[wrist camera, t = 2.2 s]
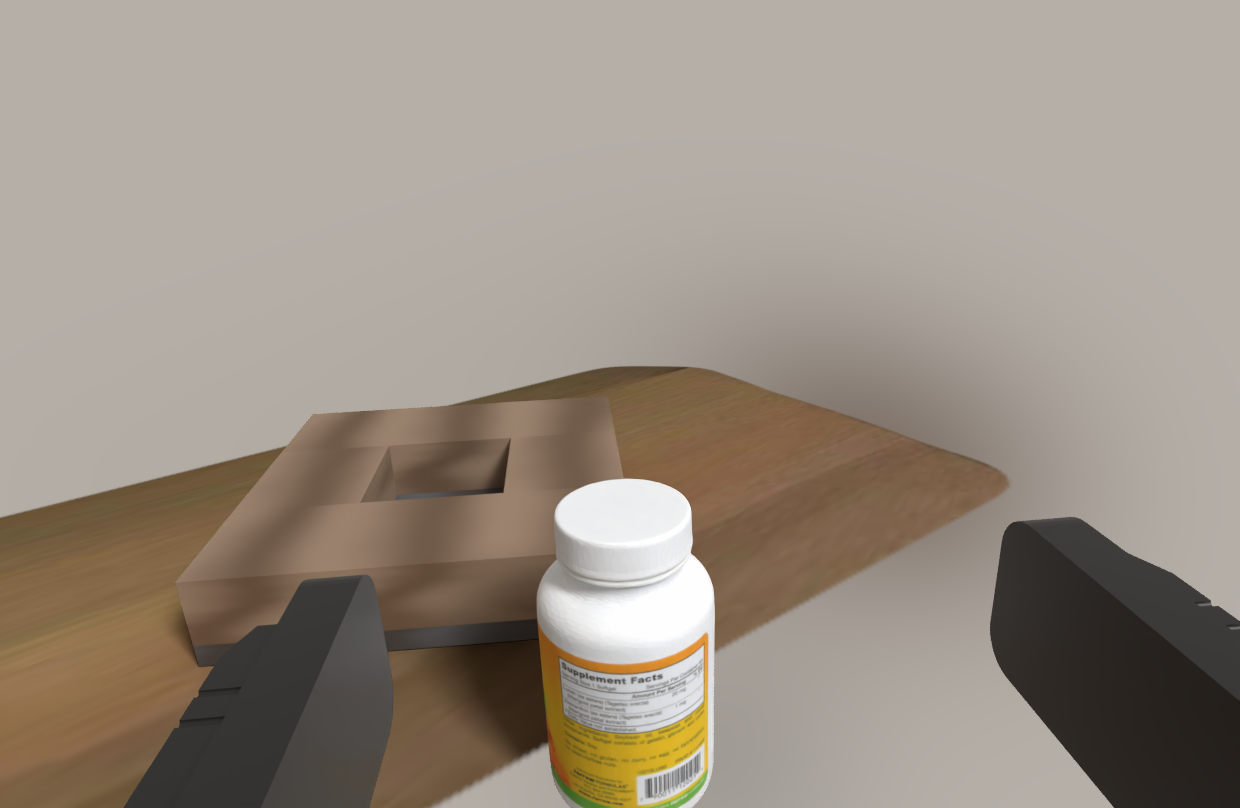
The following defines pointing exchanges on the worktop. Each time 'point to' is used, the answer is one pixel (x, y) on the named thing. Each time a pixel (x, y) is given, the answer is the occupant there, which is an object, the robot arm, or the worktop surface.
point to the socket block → (406, 520)
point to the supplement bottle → (627, 649)
